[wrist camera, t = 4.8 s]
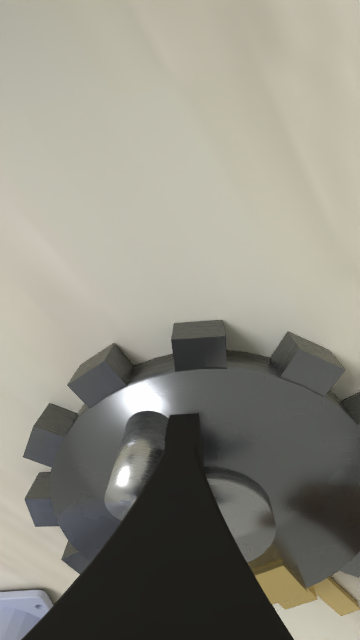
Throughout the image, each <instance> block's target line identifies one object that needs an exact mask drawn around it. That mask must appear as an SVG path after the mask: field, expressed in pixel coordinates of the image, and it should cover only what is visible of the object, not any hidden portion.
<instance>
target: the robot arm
mask: <svg viewBox="0 0 360 640" xmlns="http://www.w3.org/2000/svg"><path fill="white" fill-rule="evenodd" d="M0 640H294V639H293V637H292V636H291V634H290V633H289V631H288V630H287V628H286V627H285V625H284V623H283V622H282V620H281V619H280V617H279V615H278V614H277V612H276V611H275V609H274V607H273V606H272V604H271V603H270V601H269V599H268V598H267V596H266V594H265V593H264V591H263V590H262V588H261V586H260V584H259V582H258V581H257V579H256V577H255V575H254V574H253V572H252V570H251V568H250V567H249V565H248V563H247V561H246V560H245V558H244V556H243V554H242V553H241V551H240V549H239V547H238V545H237V543H236V541H235V539H234V537H233V535H232V534H231V532H230V530H229V528H228V526H227V524H226V521H225V519H224V517H223V515H222V513H221V511H220V509H219V507H218V504H217V502H216V500H215V497H214V495H213V493H212V490H211V488H210V485H209V483H208V480H207V478H206V475H205V472H204V458H203V449H202V439H201V429H200V420H199V413H194V414H173V415H170V416H169V419H168V423H167V427H166V433H165V448H164V450H163V452H162V454H161V456H160V458H159V460H158V462H157V464H156V466H155V468H154V470H153V472H152V473H151V475H150V477H149V479H148V480H147V482H146V484H145V485H144V487H143V489H142V491H141V492H140V494H139V496H138V497H137V499H136V500H135V502H134V504H133V505H132V507H131V508H130V510H129V511H128V513H127V514H126V516H125V517H124V518H123V520H122V521H121V523H120V524H119V526H118V527H117V528H116V530H115V531H114V533H113V534H112V535H111V536H110V538H109V539H108V540H107V542H106V543H105V544H104V546H103V547H102V548H101V550H100V551H99V552H98V554H97V555H96V556H95V557H94V559H93V560H92V561H91V562H90V564H89V565H88V566H87V567H86V569H85V570H84V571H83V572H82V573H81V574H80V576H79V577H78V578H77V579H76V580H75V581H74V582H73V584H72V585H71V586H70V587H69V588H68V589H67V591H66V592H65V593H64V594H63V595H62V596H61V598H60V599H59V600H58V601H57V602H56V603H55V604H54V605H53V604H52V602H51V600H50V598H49V597H48V595H47V593H46V592H44V591H42V590H24V591H9V592H0Z"/></svg>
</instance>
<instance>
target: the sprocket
mask: <svg viewBox="0 0 360 640" xmlns="http://www.w3.org/2000/svg"><path fill="white" fill-rule="evenodd" d="M171 341H172V349H173V354H170V355H166V356H162V357H158V358H154V359H152V360H149V361H146V362H144V363H141V364H138V365H136V366H134V365H133V364H132V363H131V362H130V361H129V360H128V358H127V357H126V356H125V355H124V354H123V353H122V352H121V350H120V349H119V348H118V347H117V346H116V345H115V343H113V344H112V345H110V346H109V347H107V348H106V349H104V350H103V351H101V352H99V353H98V354H96V355H95V356H93V357H92V358H90V359H89V360H87V361H86V362H84V363H83V364H81V365H80V366H79V368H78V369H77V371H76V372H75V374H74V375H73V377H72V378H71V380H70V381H69V383H68V384H67V386H68V387H69V388H70V389H71V390H72V391H73V392H74V393H75V394H76V395H77V396H78V397H79V398H80V399H81V400H82V401H83V402H84V403H85V404H84V405H83V406H82V408H81V409H80V411H79V412H78V413H77V414H76V413H73V412H71V411H68V410H65V409H63V408H60V407H57V406H55V405H52V404H50V403H49V404H48V406H47V407H46V409H45V410H44V412H43V413H42V415H41V416H40V417H39V419H38V420H37V422H36V423H35V425H34V426H33V429H32V432H31V435H30V438H29V441H28V444H27V447H26V449H25V452H24V455H23V457H24V458H27V459H30V460H32V461H35V462H38V463H41V464H44V465H46V466H49V467H52V469H51V472H43V473H39V474H38V476H37V477H36V479H35V481H34V483H33V485H32V486H31V488H30V490H29V492H28V494H27V495H26V497H25V502H26V504H27V507H28V509H29V512H30V514H31V517H32V519H33V522H34V524H35V527H41V526H60V528H61V529H62V531H63V533H64V534H65V536H66V537H67V539H68V543H67V546H66V548H65V551H64V554H63V556H62V559H61V560H62V561H64V562H65V563H66V564H68V565H69V566H70V567H71V568H73V569H74V570H75V571H76V572H78V573H79V574H81V573H82V572H83V571H84V570H85V569H86V567H87V566H88V565H89V564H90V562H91V561H92V560H93V559H94V557H95V556H96V555H97V554H98V552H99V551H100V550H101V548H102V547H103V546H104V544H105V543H106V542H107V540H108V539H109V538H110V536H111V535H112V534H113V533H114V531H115V530H116V528H117V527H118V526H119V524H120V523H121V521H122V520H123V518H124V517H125V516H126V514H127V513H128V511H129V510H130V508H131V507H132V505H133V504H134V502H135V500H136V499H137V497H138V496H139V494H140V492H141V491H142V489H143V487H144V485H145V484H146V482H147V480H148V479H149V477H150V475H151V473H152V472H153V470H154V468H155V466H156V464H157V462H158V460H159V458H160V456H161V454H162V452H163V450H164V448H165V433H166V427H167V423H168V419H169V416H170V415H173V414H194V413H199V420H200V429H201V439H202V449H203V458H204V472H205V475H206V478H207V480H208V483H209V485H210V488H211V490H212V493H213V495H214V497H215V500H216V502H217V504H218V507H219V509H220V511H221V513H222V515H223V517H224V519H225V521H226V524H227V526H228V528H229V530H230V532H231V534H232V535H233V537H234V539H235V541H236V543H237V545H238V547H239V549H240V551H241V553H242V554H243V556H244V558H245V560H246V561H247V563H248V565H249V567H250V568H251V570H252V572H253V574H254V575H255V577H256V579H257V581H258V582H259V584H260V586H261V588H262V590H263V591H264V593H265V594H266V596H267V598H268V599H269V601H270V603H271V604H275V603H279V604H280V605H281V606H282V607H283V608H284V609H288V608H292V607H295V606H298V605H301V604H304V603H308V602H311V601H314V600H317V597H316V593H315V590H314V587H313V585H315V584H317V583H319V582H321V581H323V580H325V579H326V578H328V577H329V576H331V575H333V574H334V573H336V572H337V571H342V572H345V573H347V574H350V575H353V576H356V577H360V393H357V394H355V395H353V396H351V397H349V398H347V399H345V400H343V401H340V400H339V399H338V398H337V397H336V396H335V395H334V394H333V393H332V392H331V391H330V389H331V387H332V386H333V385H334V384H335V382H336V381H337V380H338V378H339V377H340V376H341V375H342V373H343V372H344V371H345V368H344V367H343V366H342V365H341V364H340V363H339V361H338V360H337V359H336V358H335V357H334V356H333V354H332V353H331V352H330V351H329V350H327V349H325V348H323V347H321V346H319V345H317V344H314V343H312V342H310V341H308V340H306V339H303V338H301V337H299V336H297V335H295V334H292V333H290V332H287V334H286V335H285V337H284V338H283V340H282V341H281V343H280V344H279V346H278V347H277V349H276V350H275V352H274V353H273V355H272V356H271V358H268V357H264V356H260V355H255V354H251V353H246V352H237V351H229V350H226V337H225V331H224V327H223V322H222V320H214V321H200V322H185V323H174V326H173V332H172V339H171Z"/></svg>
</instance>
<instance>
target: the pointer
mask: <svg viewBox="0 0 360 640" xmlns="http://www.w3.org/2000/svg"><path fill="white" fill-rule="evenodd" d="M313 587H314V590H315V593H316V594H317V595H318V596H319V597H320V598H321V599H322V600H323V601H324V602H326V603H327V604H328V605H329V606H330V607H331V608H332V609H334V610H335V611H336V612H337V613H338V614H339V615H340V616H343V615H346V614H348V613H351V612H354V611H357V610H359V609H360V607H359V605H358V603H357V602H356V601H355V600H354V599H353V598H352V597H351V596H350V595H349V594H348V593H347V592H346V591H344V590H343V589H342V588H341V587H340V586H339V585H338V584H337V583H336V582H335V581H334V580H333V579H332V578H330V577H328V578H326V579H325V580H323V581H321V582H319V583H317V584H315V585H313Z"/></svg>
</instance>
